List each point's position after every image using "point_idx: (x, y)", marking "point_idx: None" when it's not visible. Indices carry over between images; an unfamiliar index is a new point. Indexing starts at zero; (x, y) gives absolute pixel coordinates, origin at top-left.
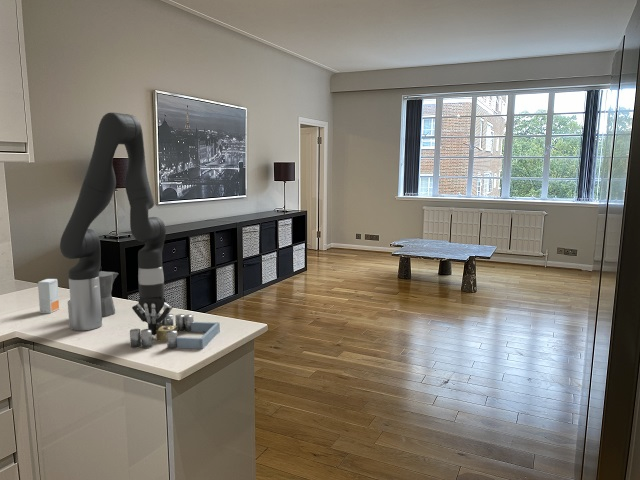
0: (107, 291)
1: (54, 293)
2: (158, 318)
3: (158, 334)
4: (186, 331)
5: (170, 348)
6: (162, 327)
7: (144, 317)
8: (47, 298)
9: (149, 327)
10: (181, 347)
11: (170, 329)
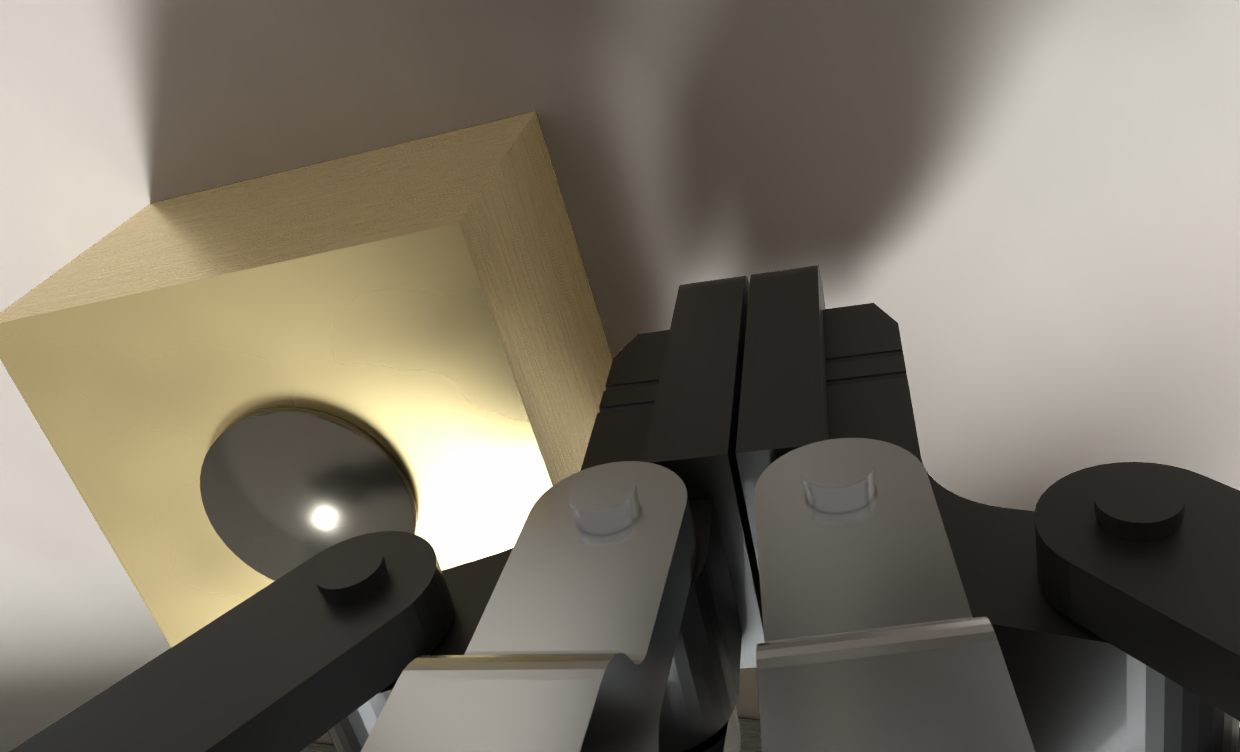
0: None
1: None
2: (358, 648)
3: (417, 188)
4: (318, 744)
5: None
6: (484, 529)
7: (1125, 640)
8: None
9: (858, 405)
10: None
11: (121, 428)
